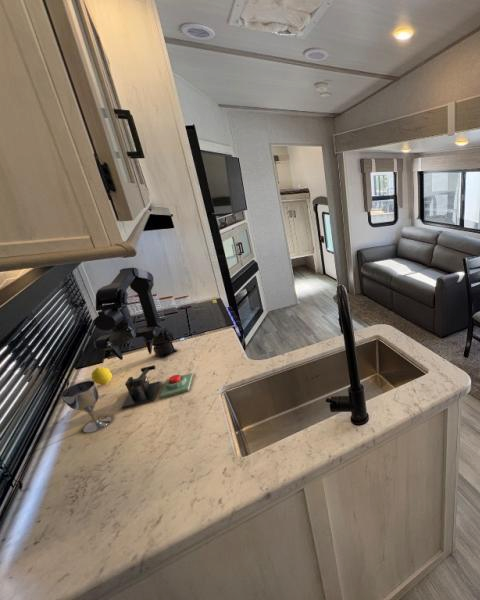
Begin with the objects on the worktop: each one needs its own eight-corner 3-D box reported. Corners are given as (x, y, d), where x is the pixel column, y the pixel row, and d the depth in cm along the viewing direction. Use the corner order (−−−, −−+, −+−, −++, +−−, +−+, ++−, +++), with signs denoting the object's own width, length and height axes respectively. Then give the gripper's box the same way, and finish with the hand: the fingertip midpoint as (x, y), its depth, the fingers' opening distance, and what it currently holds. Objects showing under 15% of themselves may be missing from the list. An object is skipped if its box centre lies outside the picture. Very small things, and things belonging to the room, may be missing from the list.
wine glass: (76, 430, 102) (54, 394, 96) (104, 413, 109) (85, 379, 103) (90, 436, 99) (69, 399, 93) (118, 418, 106) (100, 383, 100)
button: (171, 379, 121) (169, 376, 121) (181, 377, 123) (180, 373, 122) (169, 385, 118) (167, 381, 118) (180, 382, 120) (178, 378, 119)
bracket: (133, 389, 121) (125, 373, 118) (160, 383, 124) (154, 366, 121) (122, 409, 111) (114, 391, 108) (153, 401, 114) (145, 384, 111)
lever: (143, 372, 127) (141, 366, 126) (156, 369, 128) (154, 363, 128) (129, 388, 113) (127, 383, 113) (144, 385, 115) (142, 379, 114)
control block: (167, 382, 124) (164, 375, 123) (192, 375, 128) (190, 369, 127) (160, 398, 115) (158, 392, 114) (188, 391, 119) (186, 384, 117)
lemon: (118, 379, 127) (110, 363, 124) (105, 388, 122) (96, 371, 119) (106, 379, 128) (98, 363, 125) (93, 388, 123) (84, 371, 120)
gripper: (78, 333, 104) (96, 373, 109) (144, 322, 111) (158, 359, 116) (93, 322, 114) (110, 358, 119) (154, 312, 120) (166, 347, 126)
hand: (136, 356), depth 120 cm, fingers open, 9 cm apart
